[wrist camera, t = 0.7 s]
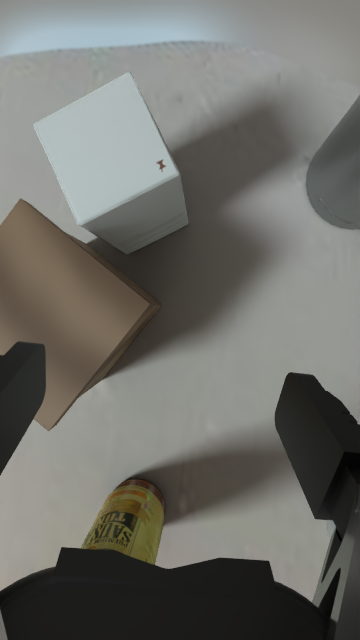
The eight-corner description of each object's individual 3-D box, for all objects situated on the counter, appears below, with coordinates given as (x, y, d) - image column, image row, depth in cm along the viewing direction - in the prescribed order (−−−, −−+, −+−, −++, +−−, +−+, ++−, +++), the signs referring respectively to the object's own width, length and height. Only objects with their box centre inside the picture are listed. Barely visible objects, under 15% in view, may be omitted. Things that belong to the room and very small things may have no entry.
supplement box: (159, 157, 33) (133, 64, 20) (190, 225, 33) (183, 175, 20) (93, 190, 33) (28, 120, 21) (124, 257, 33) (77, 227, 21)
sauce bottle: (148, 465, 34) (75, 686, 14) (177, 517, 34) (143, 812, 14) (94, 492, 35) (-49, 742, 15) (122, 543, 35) (17, 862, 15)
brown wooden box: (85, 236, 33) (20, 198, 21) (168, 304, 33) (150, 304, 21) (21, 320, 34) (-76, 327, 22) (102, 387, 34) (48, 431, 22)
